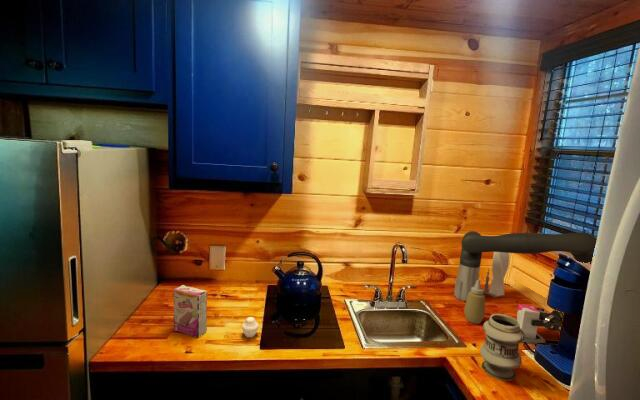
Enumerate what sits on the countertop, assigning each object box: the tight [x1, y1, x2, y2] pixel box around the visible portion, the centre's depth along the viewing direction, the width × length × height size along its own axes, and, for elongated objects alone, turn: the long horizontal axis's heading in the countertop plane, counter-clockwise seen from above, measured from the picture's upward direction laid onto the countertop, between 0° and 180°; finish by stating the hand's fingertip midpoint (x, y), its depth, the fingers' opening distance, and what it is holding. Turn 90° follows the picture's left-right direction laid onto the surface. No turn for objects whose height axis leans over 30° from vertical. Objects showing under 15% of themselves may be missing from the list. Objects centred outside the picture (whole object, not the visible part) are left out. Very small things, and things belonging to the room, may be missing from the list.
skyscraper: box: [483, 252, 511, 298], centre depth 172 cm, size 8×8×28 cm
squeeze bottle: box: [463, 279, 486, 325], centre depth 143 cm, size 8×8×18 cm
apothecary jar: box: [479, 313, 524, 382], centre depth 110 cm, size 12×12×18 cm
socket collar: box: [520, 332, 546, 345], centre depth 134 cm, size 10×10×2 cm
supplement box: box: [515, 304, 540, 338], centre depth 133 cm, size 6×6×12 cm
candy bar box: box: [173, 284, 208, 338], centre depth 123 cm, size 11×5×16 cm, turn 71°
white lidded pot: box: [241, 316, 260, 338], centre depth 124 cm, size 6×6×7 cm
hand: (525, 317), depth 133 cm, fingers open, 8 cm apart
